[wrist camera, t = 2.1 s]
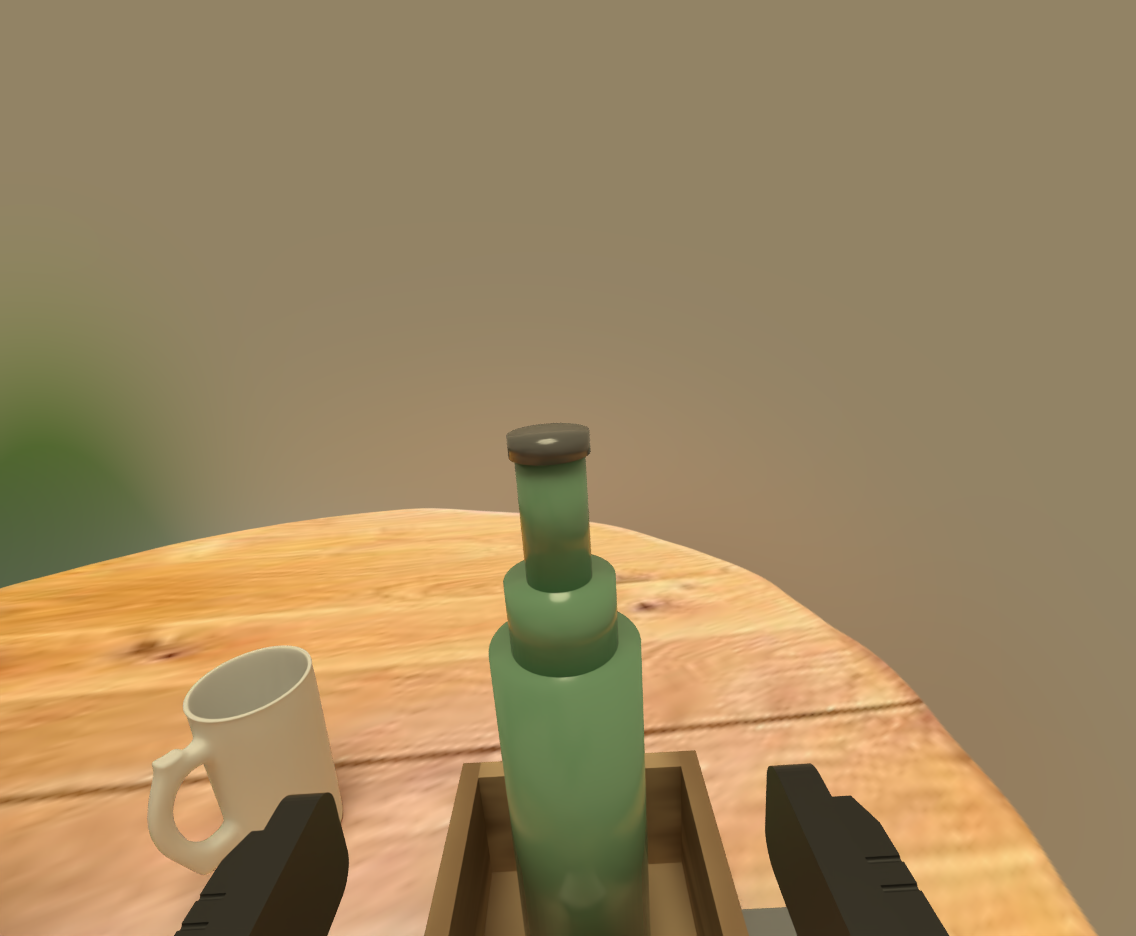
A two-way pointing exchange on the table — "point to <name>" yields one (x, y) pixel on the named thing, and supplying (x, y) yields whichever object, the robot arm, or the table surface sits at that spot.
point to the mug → (245, 751)
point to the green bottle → (569, 707)
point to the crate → (675, 857)
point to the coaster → (768, 922)
